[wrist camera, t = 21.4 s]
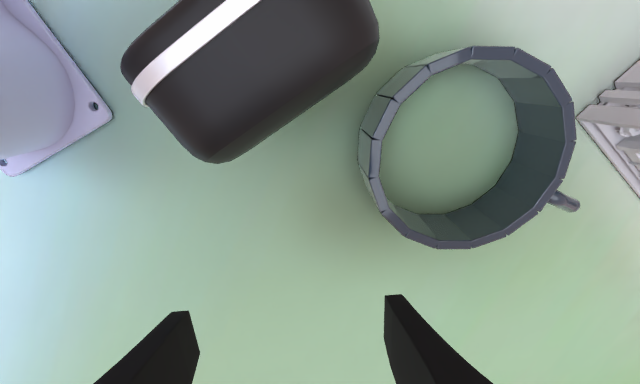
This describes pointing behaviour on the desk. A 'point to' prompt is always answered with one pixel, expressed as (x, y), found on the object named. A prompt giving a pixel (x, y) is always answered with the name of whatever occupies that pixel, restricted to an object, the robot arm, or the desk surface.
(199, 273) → the desk surface
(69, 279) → the desk surface
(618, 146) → the power supply unit
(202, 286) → the desk surface
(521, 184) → the gray segmented ring
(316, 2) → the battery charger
